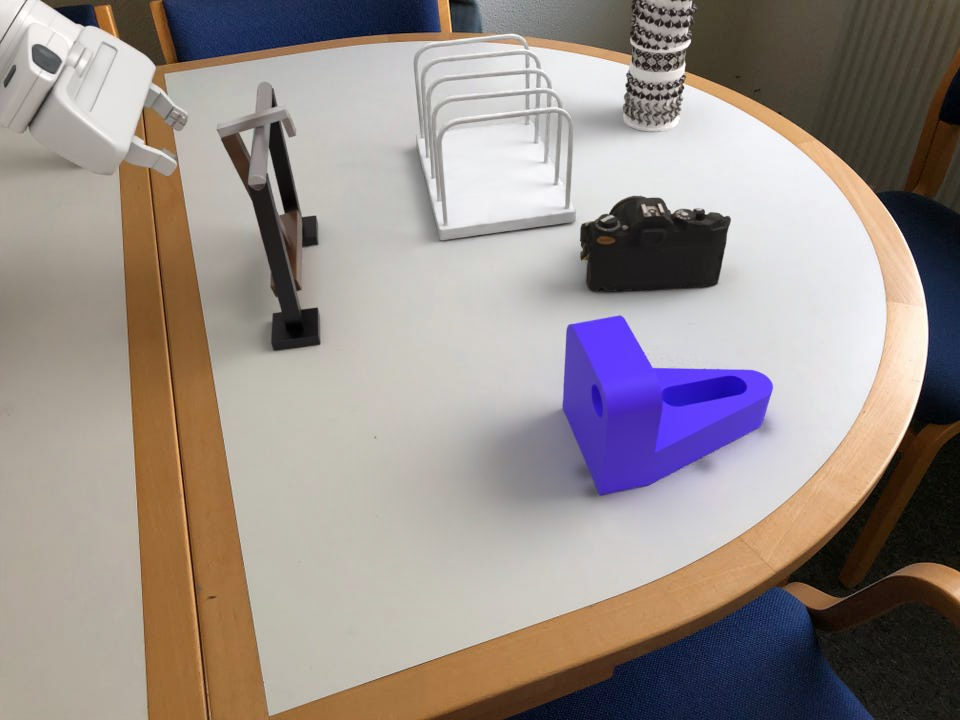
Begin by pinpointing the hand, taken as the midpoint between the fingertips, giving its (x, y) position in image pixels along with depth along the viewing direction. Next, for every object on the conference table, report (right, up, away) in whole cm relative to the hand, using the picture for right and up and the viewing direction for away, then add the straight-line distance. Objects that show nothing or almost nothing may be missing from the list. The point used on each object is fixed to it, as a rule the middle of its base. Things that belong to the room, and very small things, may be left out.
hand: (180, 144), depth 80 cm
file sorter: (+32, +2, +28) cm, 43 cm away
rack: (+9, -12, +13) cm, 20 cm away
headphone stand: (+11, -9, +11) cm, 18 cm away
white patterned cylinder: (+56, +15, +40) cm, 71 cm away
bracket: (+48, -29, -6) cm, 56 cm away
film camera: (+49, -11, +13) cm, 52 cm away
